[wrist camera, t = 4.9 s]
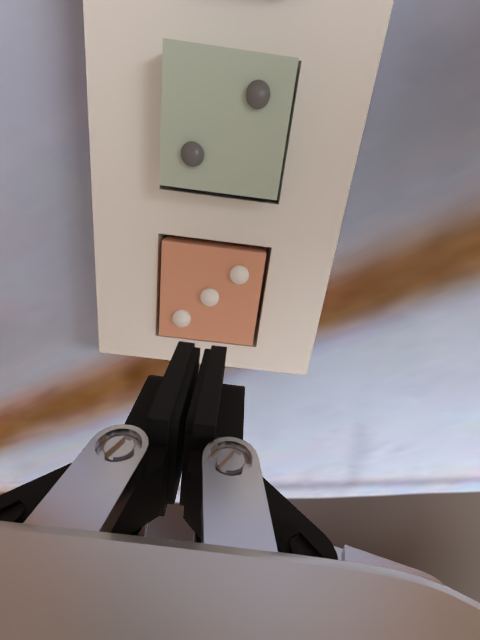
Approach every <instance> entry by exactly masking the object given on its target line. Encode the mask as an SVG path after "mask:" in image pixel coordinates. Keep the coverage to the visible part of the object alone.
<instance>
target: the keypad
mask: <svg viewBox="0 0 480 640" xmlns="http://www.w3.org/2000/svg"><path fill="white" fill-rule="evenodd" d="M393 2H394V0H83V15H84V36H85V57H86V79H87V100H88V122H89V143H90V165H91V186H92V208H93V229H94V250H95V272H96V293H97V315H98V336H99V352H100V353H109V354H118V355H127V356H137V357H146V358H155V359H164V360H171V358H172V356H173V353H174V351H175V349H176V346H177V344H178V342H179V341H183V342H191V343H195V347H198V348H200V360H199V363H200V364H201V362H202V358H203V354H204V350H205V348H206V349H211V346H212V345H215V346H223V347H227V352H226V360H225V366H227V367H236V368H245V369H254V370H263V371H273V372H282V373H291V374H300V375H307V371H308V366H309V362H310V358H311V354H312V349H313V345H314V341H315V336H316V332H317V328H318V324H319V319H320V315H321V311H322V306H323V302H324V298H325V294H326V289H327V285H328V281H329V276H330V272H331V268H332V264H333V259H334V255H335V251H336V246H337V242H338V238H339V234H340V229H341V225H342V221H343V216H344V212H345V208H346V204H347V199H348V195H349V191H350V187H351V182H352V178H353V174H354V169H355V165H356V161H357V157H358V152H359V148H360V144H361V139H362V135H363V131H364V127H365V122H366V118H367V114H368V109H369V105H370V101H371V97H372V92H373V88H374V84H375V79H376V75H377V71H378V67H379V62H380V58H381V54H382V49H383V45H384V41H385V37H386V32H387V28H388V24H389V20H390V15H391V11H392V7H393ZM163 38H167V39H173V40H180V41H187V42H194V43H201V44H207V45H214V46H221V47H228V48H235V49H241V50H248V51H255V52H262V53H268V54H275V55H282V56H289V57H296V58H299V61H298V68H297V74H296V80H295V87H294V93H293V100H292V106H291V112H290V119H289V125H288V132H287V138H286V144H285V151H284V157H283V164H282V170H281V177H280V183H279V189H278V196H277V200H268V199H261V198H253V197H245V196H238V195H230V194H222V193H215V192H207V191H199V190H192V189H184V188H176V187H170V186H163V185H159V167H160V129H161V91H162V54H163ZM168 235H175V236H183V237H191V238H199V239H207V240H215V241H223V242H231V243H239V244H247V245H255V246H263V247H267V252H266V253H267V254H266V260H265V267H264V273H263V280H262V286H261V293H260V299H259V306H258V312H257V319H256V325H255V332H254V338H253V345H252V346H251V345H242V344H233V343H224V342H215V341H207V340H198V339H189V338H180V337H171V336H162V335H159V316H160V284H161V252H162V240H163V239H164V238H166V237H167V236H168Z"/></svg>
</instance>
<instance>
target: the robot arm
mask: <svg viewBox="0 0 480 640" xmlns="http://www.w3.org/2000/svg"><path fill="white" fill-rule="evenodd" d="M226 352H227V347H223V346H215V345H212V346H211V349H206V348H205V350H204V354H203V358H202V362H201V365H200V369H199V360H200V348H198V347H195V343H191V342H183V341H179V342H178V344H177V346H176V349H175V351H174V353H173V356H172V358H171V361H170V363H169V365H168V368H167V370H166V372H165V375H164V377H162V376H154V375H150V376H148V378H147V380H146V382H145V384H144V386H143V388H142V390H141V392H140V394H139V396H138V398H137V400H136V402H135V404H134V406H133V408H132V410H131V412H130V414H129V416H128V418H127V420H126V422H125V424H123V425H114V426H111V427H108V428H106V429H104V430H102V431H100V432H99V433H97V434H96V435H95V436H94V437H93V438H92V439H91V441H90V442H89V443H88V444H87V446H86V447H85V448H84V449H83V450H82V452H81V453H80V454H79V455H78V457H77V458H76V459H75V460H74V461H73V462H72V463H70V464H68V465H66V466H64V467H61V468H59V469H57V470H55V471H53V472H50V473H48V474H46V475H44V476H42V477H39V478H37V479H35V480H33V481H31V482H28V483H26V484H24V485H22V486H20V487H17V488H15V489H13V490H11V491H9V492H6V493H4V494H2V495H0V640H480V603H478V602H476V601H475V600H473V599H471V598H469V597H467V596H465V595H463V594H461V593H458V592H456V591H455V590H452V589H451V588H449V587H447V586H445V585H444V584H442V583H441V582H440V581H439V580H438V579H437V578H435V577H433V576H431V575H429V574H427V573H425V572H422V571H419V570H416V569H414V568H411V567H408V566H405V565H402V564H399V563H396V562H393V561H390V560H388V559H384V558H382V557H379V556H376V555H373V554H370V553H367V552H364V551H362V550H358V549H356V548H353V547H350V546H347V545H345V546H344V549H341V548H338V547H335V546H333V544H332V543H331V542H330V540H329V539H328V538H327V537H326V535H325V534H324V533H323V532H321V531H320V530H319V529H318V528H317V527H316V526H315V525H314V524H313V523H312V522H311V521H309V520H308V519H307V518H306V517H305V516H304V515H303V514H302V513H301V512H300V511H299V510H297V508H296V507H294V506H293V505H292V504H291V503H290V502H289V501H288V500H287V499H286V498H285V497H284V496H283V495H282V494H281V493H279V492H278V491H277V490H276V489H275V488H274V487H273V486H272V485H271V484H270V483H269V482H268V481H266V480H265V479H264V478H263V477H262V472H261V468H260V463H259V458H258V455H257V453H256V450H255V449H254V448H253V447H252V446H251V445H250V444H249V443H247V442H246V441H244V440H243V423H244V396H245V387H244V386H236V385H228V384H223V377H224V369H225V360H226ZM198 372H199V373H198ZM181 473H182V478H181V492H180V505H183V506H184V517H183V518H184V519H185V521H186V522H187V523H188V524H189V526H190V527H191V528H192V530H193V531H194V532H195V533H194V542H187V541H179V540H170V539H161V538H152V537H144V536H145V533H146V530H147V523H149V522H150V521H152V520H153V519H155V518H156V517H158V516H164V515H165V511H166V507H167V504H174V503H175V499H176V495H177V490H178V486H179V482H180V477H181Z"/></svg>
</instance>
